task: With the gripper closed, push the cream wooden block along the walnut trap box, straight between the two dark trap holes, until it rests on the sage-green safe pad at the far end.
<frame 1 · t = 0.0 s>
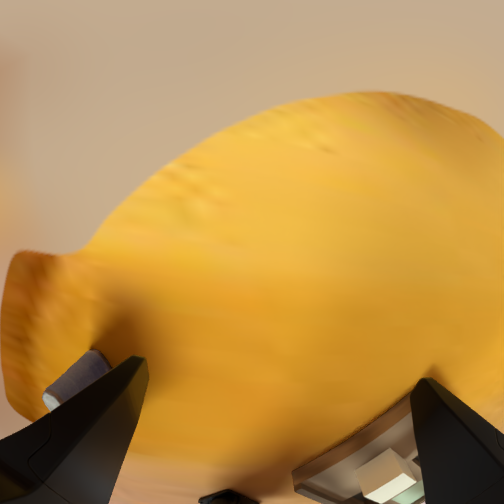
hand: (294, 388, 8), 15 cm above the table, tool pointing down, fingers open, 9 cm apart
block: (380, 465, 24), point 2 cm above the table, touching trap box
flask: (112, 384, 25), on the table
trap box: (396, 468, 27), on the table
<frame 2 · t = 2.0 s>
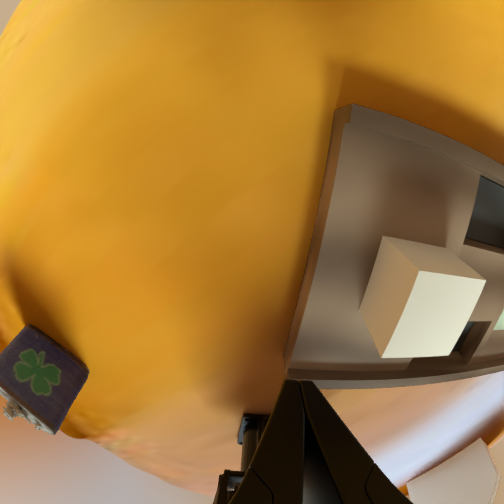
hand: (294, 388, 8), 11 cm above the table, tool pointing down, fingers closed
block: (404, 279, 16), point 2 cm above the table, touching trap box
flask: (57, 348, 24), on the table
trap box: (465, 274, 18), on the table
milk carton: (450, 464, 37), on the table
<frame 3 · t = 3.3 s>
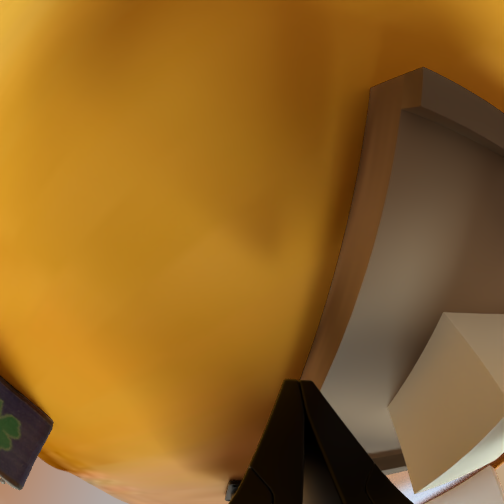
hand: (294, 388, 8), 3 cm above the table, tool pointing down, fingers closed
block: (456, 363, 9), point 2 cm above the table, touching trap box
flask: (18, 393, 16), on the table
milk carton: (456, 489, 30), on the table
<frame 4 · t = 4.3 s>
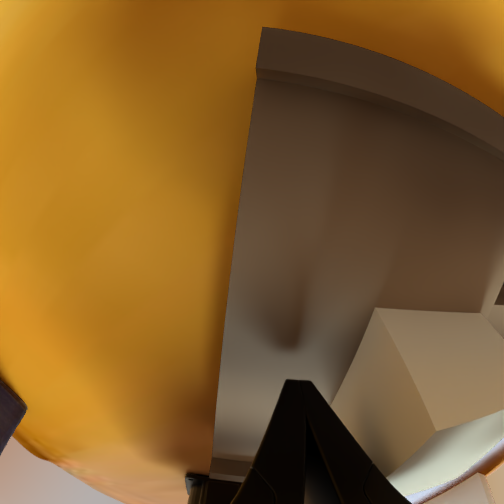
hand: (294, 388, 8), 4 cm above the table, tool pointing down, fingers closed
block: (408, 366, 9), point 3 cm above the table, touching gripper, trap box
trap box: (484, 330, 11), on the table
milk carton: (443, 495, 30), on the table
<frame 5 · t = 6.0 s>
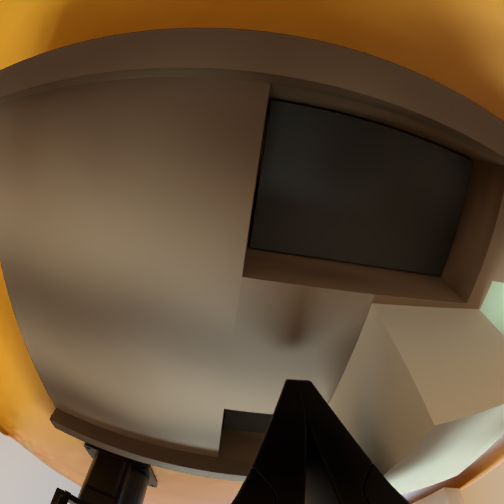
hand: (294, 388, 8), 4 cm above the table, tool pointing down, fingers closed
block: (406, 363, 9), point 3 cm above the table, touching gripper
trap box: (333, 326, 11), on the table
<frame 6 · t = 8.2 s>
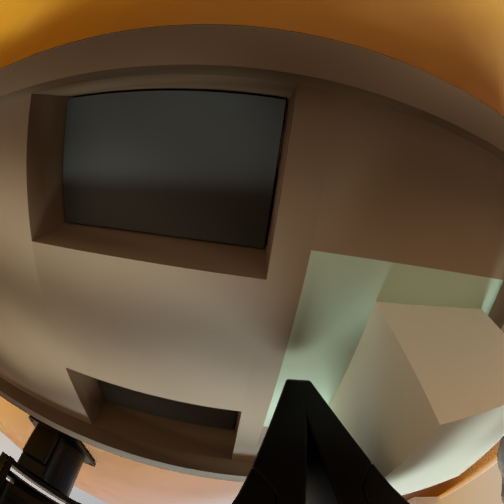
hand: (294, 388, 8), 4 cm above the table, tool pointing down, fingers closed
block: (408, 362, 9), point 2 cm above the table, touching gripper, trap box
trap box: (156, 301, 11), on the table
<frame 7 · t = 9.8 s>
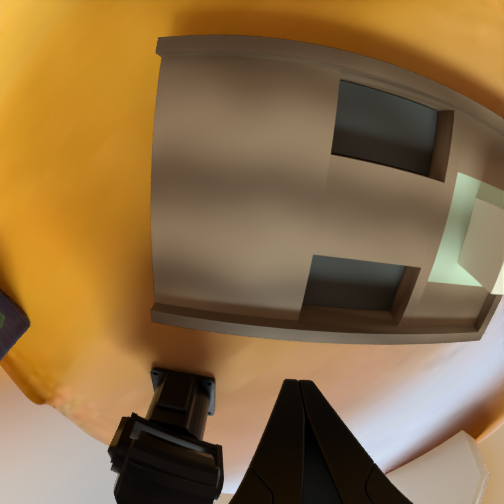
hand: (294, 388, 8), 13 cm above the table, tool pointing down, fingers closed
block: (487, 236, 15), point 2 cm above the table, touching trap box
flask: (8, 301, 24), on the table
trap box: (370, 206, 18), on the table
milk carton: (431, 458, 37), on the table
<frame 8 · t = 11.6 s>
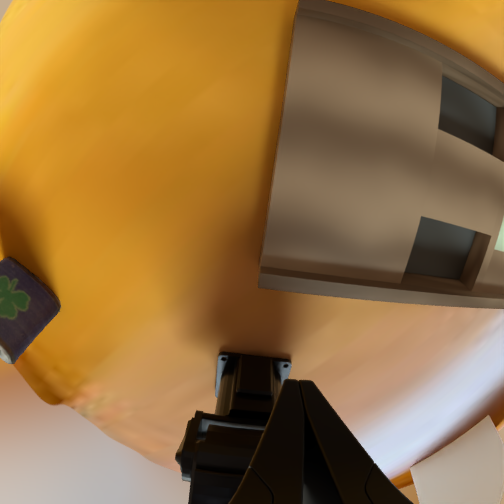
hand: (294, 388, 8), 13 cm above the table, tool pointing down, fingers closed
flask: (32, 282, 23), on the table
trap box: (452, 180, 17), on the table
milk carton: (456, 447, 36), on the table
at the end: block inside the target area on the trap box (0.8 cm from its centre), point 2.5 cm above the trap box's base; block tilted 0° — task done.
